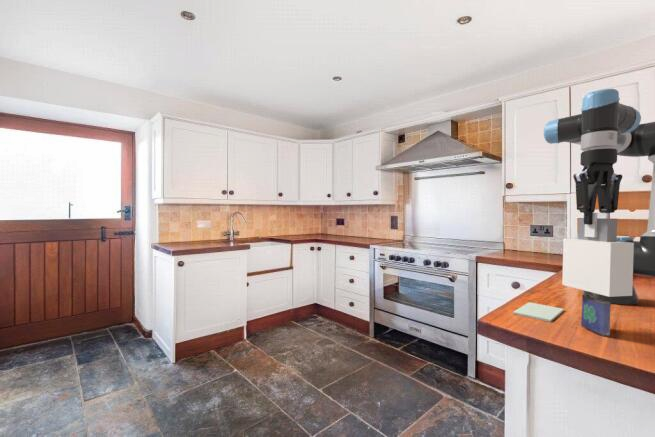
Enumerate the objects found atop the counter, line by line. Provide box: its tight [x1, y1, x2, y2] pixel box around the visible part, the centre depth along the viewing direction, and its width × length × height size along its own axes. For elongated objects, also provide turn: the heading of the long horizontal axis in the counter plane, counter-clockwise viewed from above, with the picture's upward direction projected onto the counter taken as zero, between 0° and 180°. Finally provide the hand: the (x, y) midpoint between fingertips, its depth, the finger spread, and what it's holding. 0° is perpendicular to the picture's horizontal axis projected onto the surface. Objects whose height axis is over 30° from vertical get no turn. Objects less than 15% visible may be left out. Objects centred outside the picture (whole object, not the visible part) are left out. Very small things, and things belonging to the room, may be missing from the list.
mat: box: [512, 301, 565, 323], centre depth 102 cm, size 10×16×1 cm, turn 132°
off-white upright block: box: [561, 217, 634, 297], centre depth 86 cm, size 7×13×20 cm, turn 10°
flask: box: [580, 292, 612, 338], centre depth 86 cm, size 9×3×11 cm, turn 172°
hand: (596, 236), depth 86 cm, fingers closed on off-white upright block, 3 cm apart
